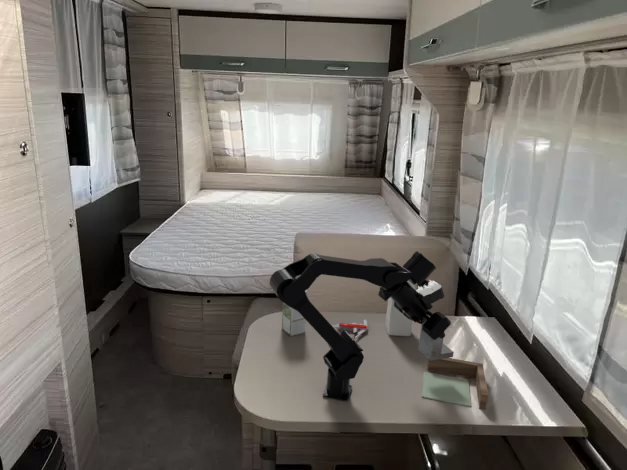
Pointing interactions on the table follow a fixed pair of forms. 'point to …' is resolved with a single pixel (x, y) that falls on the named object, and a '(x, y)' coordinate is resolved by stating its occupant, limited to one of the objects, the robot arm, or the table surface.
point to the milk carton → (397, 320)
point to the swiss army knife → (353, 327)
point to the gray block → (433, 346)
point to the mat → (446, 389)
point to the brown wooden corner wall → (463, 374)
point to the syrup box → (292, 320)
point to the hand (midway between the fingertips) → (436, 331)
